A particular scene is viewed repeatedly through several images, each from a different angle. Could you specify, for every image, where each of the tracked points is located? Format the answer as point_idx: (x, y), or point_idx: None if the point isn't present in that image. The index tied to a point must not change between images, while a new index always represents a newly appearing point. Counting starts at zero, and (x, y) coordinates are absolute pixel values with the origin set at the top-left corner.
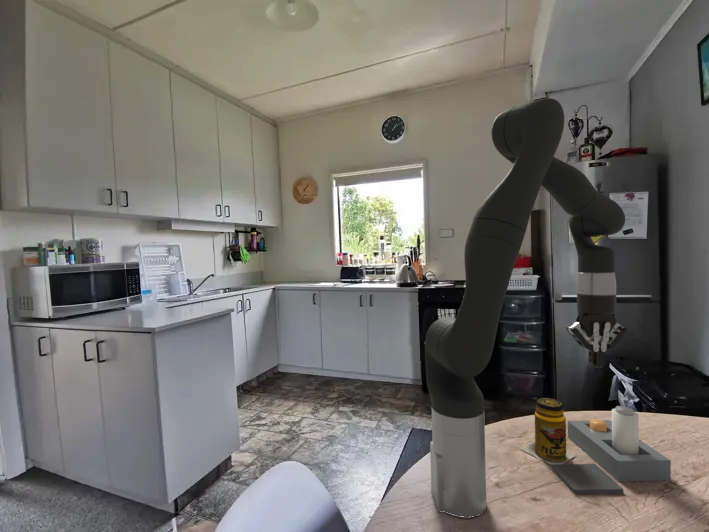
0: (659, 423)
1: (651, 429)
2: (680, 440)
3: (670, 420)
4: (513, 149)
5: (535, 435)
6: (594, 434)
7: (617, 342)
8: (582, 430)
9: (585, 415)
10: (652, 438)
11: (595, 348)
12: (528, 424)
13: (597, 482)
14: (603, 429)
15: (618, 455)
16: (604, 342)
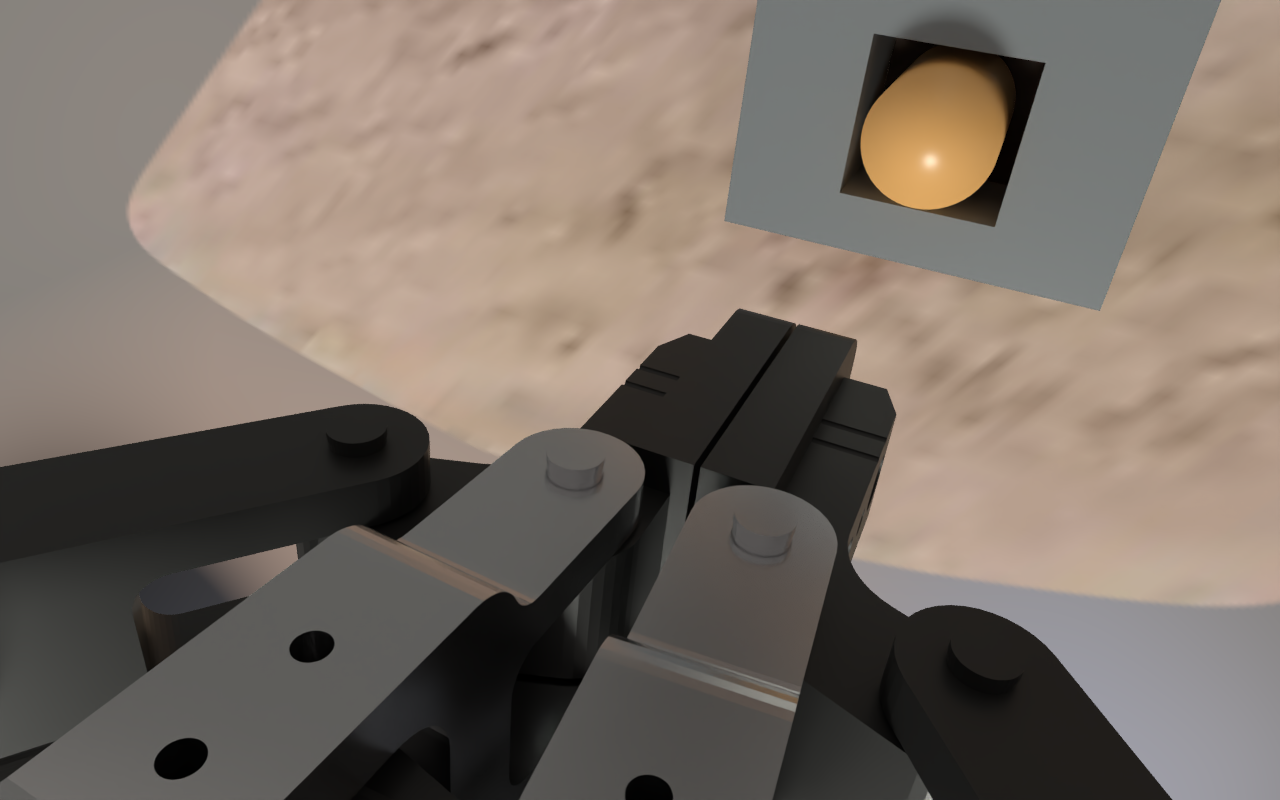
0: (340, 241)
1: (433, 193)
2: (373, 28)
3: (263, 253)
4: None
5: None
6: (1106, 11)
7: (160, 443)
8: (1148, 110)
9: None
10: (512, 90)
11: (773, 552)
12: (1239, 515)
13: None
14: (943, 67)
15: None
16: (458, 566)
